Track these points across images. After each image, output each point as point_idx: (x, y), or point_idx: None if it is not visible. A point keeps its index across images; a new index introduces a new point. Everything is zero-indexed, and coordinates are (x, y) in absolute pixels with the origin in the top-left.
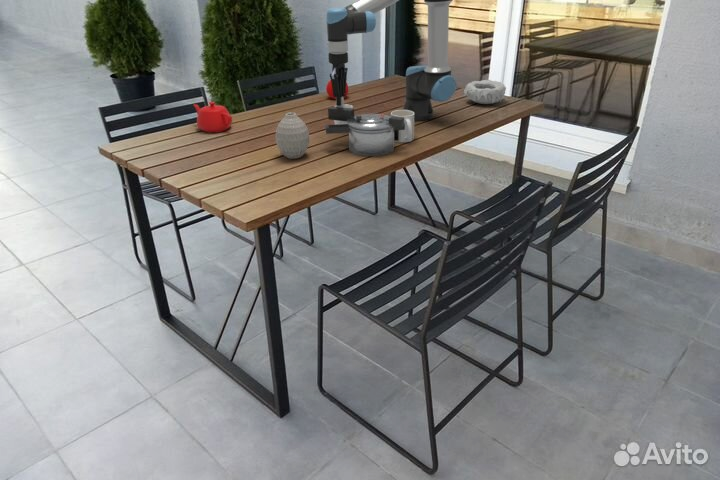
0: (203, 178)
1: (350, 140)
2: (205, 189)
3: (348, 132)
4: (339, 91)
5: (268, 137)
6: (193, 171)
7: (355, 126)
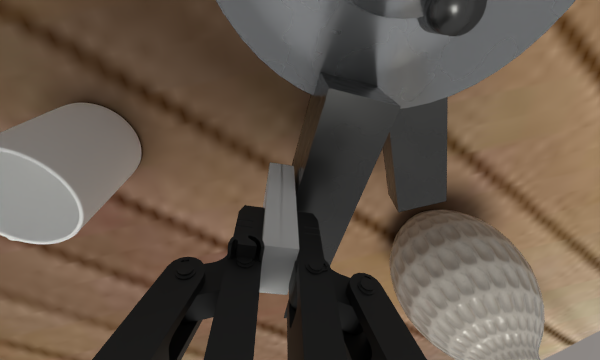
0: None
1: None
2: (596, 316)
3: None
4: (375, 330)
5: (266, 315)
6: None
7: (557, 16)
